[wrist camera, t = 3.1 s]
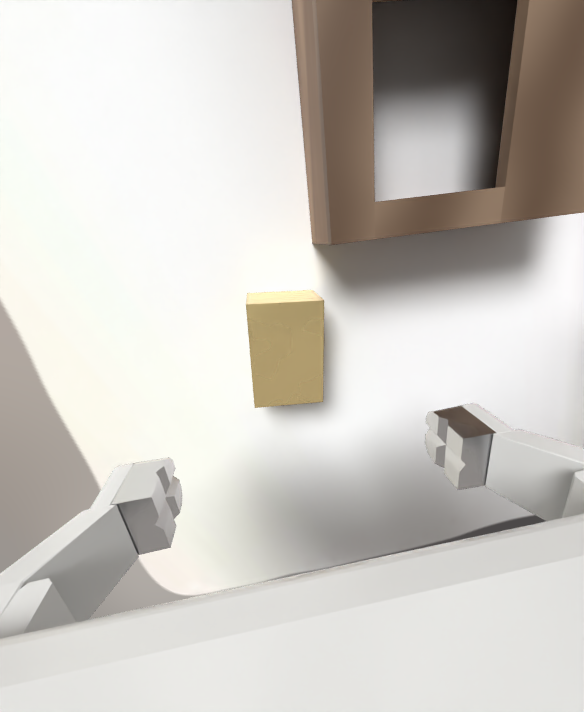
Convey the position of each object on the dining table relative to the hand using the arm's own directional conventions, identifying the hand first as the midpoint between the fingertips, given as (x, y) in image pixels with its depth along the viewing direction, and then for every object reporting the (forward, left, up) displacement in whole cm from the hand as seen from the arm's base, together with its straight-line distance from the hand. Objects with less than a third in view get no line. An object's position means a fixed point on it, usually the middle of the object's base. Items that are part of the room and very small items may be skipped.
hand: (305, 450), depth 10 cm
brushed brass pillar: (0, 0, -11) cm, 11 cm away
